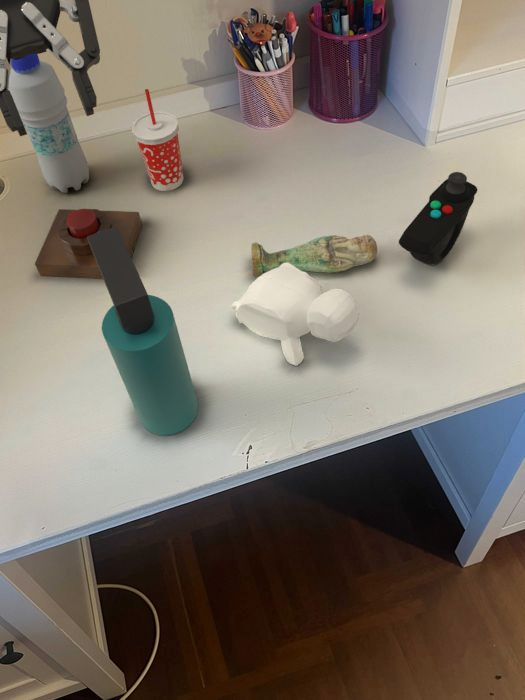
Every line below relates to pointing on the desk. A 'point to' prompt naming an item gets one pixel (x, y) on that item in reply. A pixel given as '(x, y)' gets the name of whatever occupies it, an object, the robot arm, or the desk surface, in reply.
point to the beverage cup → (159, 147)
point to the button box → (82, 244)
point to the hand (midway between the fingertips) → (57, 122)
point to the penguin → (295, 310)
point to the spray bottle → (144, 341)
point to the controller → (440, 220)
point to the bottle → (48, 122)
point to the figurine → (318, 255)
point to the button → (82, 223)
